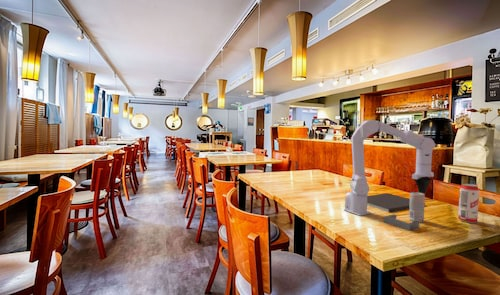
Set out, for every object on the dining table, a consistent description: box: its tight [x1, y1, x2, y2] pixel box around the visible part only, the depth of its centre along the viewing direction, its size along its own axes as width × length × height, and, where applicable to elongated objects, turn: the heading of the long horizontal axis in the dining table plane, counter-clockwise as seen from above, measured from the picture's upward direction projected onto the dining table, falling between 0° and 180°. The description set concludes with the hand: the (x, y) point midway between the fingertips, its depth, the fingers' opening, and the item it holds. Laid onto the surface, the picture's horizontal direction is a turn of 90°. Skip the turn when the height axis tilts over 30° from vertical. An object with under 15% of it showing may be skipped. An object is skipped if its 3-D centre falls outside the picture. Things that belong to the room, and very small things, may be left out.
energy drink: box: [408, 191, 426, 224], centre depth 106 cm, size 5×5×12 cm
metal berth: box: [383, 213, 420, 232], centre depth 101 cm, size 10×7×2 cm, turn 29°
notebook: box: [367, 192, 426, 213], centre depth 133 cm, size 22×2×28 cm
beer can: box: [457, 183, 480, 224], centre depth 106 cm, size 6×6×16 cm
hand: (422, 193), depth 112 cm, fingers closed
